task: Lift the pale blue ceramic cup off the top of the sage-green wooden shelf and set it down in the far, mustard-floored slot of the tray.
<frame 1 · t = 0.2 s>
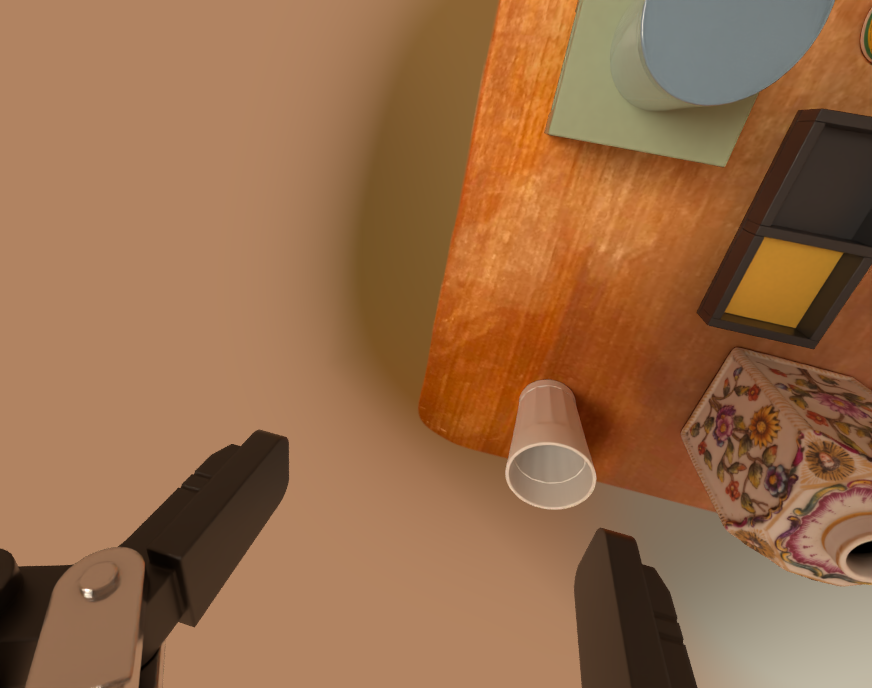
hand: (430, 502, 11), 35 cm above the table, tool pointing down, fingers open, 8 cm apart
cup: (546, 402, 49), on the table
shelf: (623, 76, 34), on the table
tray: (796, 233, 36), on the table
decorative jar: (758, 405, 44), on the table, touching beige rounded piece
blue cup: (671, 45, 22), point 14 cm above the table, touching shelf
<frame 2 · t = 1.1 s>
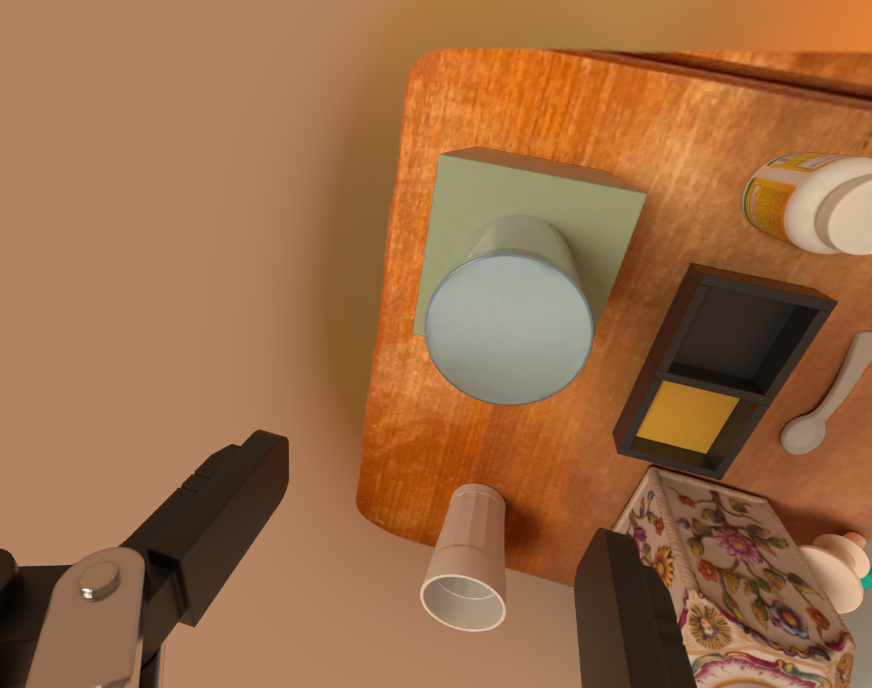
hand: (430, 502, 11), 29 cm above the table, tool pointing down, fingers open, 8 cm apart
supplement bottle: (780, 192, 30), on the table
cup: (478, 502, 50), on the table
shelf: (522, 223, 35), on the table
tray: (700, 369, 37), on the table
spoon: (821, 390, 36), on the table
beige rounded piece: (817, 580, 35), point 7 cm above the table, touching decorative jar
decorative jar: (680, 517, 44), on the table, touching beige rounded piece
blue cup: (514, 273, 22), point 14 cm above the table, touching shelf
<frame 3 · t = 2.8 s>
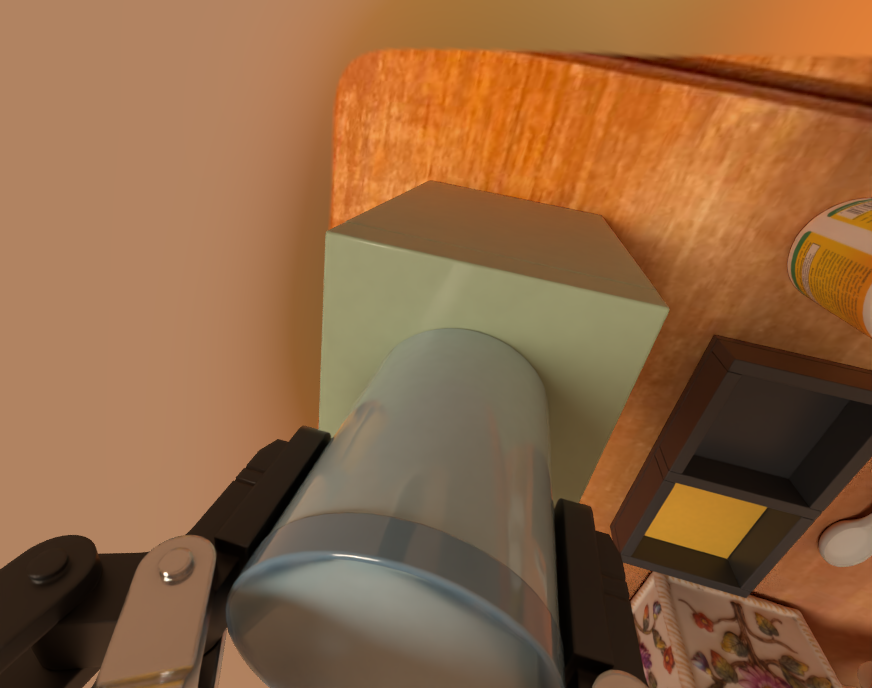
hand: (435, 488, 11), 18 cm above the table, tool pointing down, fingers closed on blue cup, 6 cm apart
supplement bottle: (841, 249, 22), on the table
shelf: (494, 279, 27), on the table
tray: (722, 461, 29), on the table
decorative jar: (691, 621, 36), on the table, touching beige rounded piece
blue cup: (457, 408, 14), point 14 cm above the table, touching gripper, shelf
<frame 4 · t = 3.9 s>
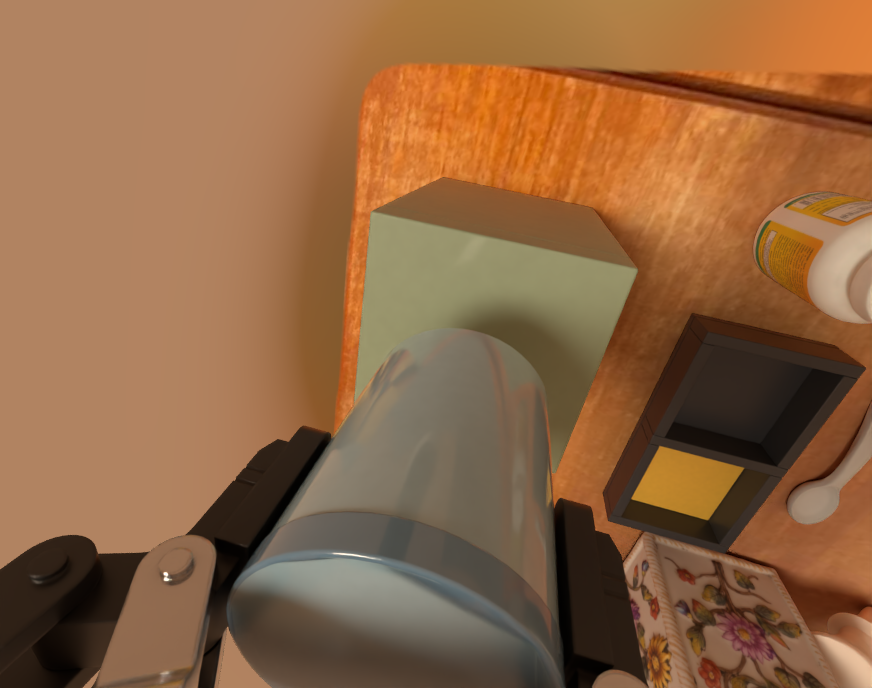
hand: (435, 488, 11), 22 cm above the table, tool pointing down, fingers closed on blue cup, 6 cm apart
supplement bottle: (798, 237, 26), on the table
shelf: (498, 265, 30), on the table
tray: (702, 429, 32), on the table
spoon: (835, 453, 32), on the table
beige rounded piece: (835, 675, 31), point 7 cm above the table, touching decorative jar
decorative jar: (678, 583, 40), on the table, touching beige rounded piece
blue cup: (457, 407, 14), point 18 cm above the table, touching gripper
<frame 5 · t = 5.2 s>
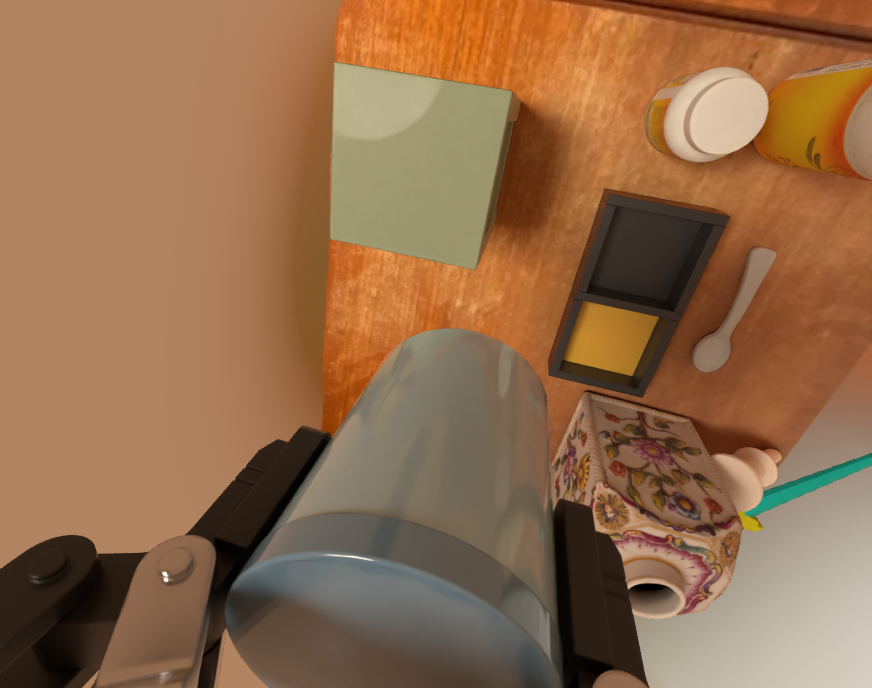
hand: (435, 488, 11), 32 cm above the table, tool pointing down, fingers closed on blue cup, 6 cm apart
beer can: (793, 118, 31), on the table
supplement bottle: (679, 116, 33), on the table
shelf: (451, 156, 37), on the table
tray: (621, 293, 40), on the table
spoon: (727, 309, 39), on the table
beige rounded piece: (726, 483, 38), point 7 cm above the table, touching decorative jar
decorative jar: (615, 442, 47), on the table, touching beige rounded piece
toy sword: (654, 544, 51), point 2 cm above the table
blue cup: (457, 408, 14), point 29 cm above the table, touching gripper
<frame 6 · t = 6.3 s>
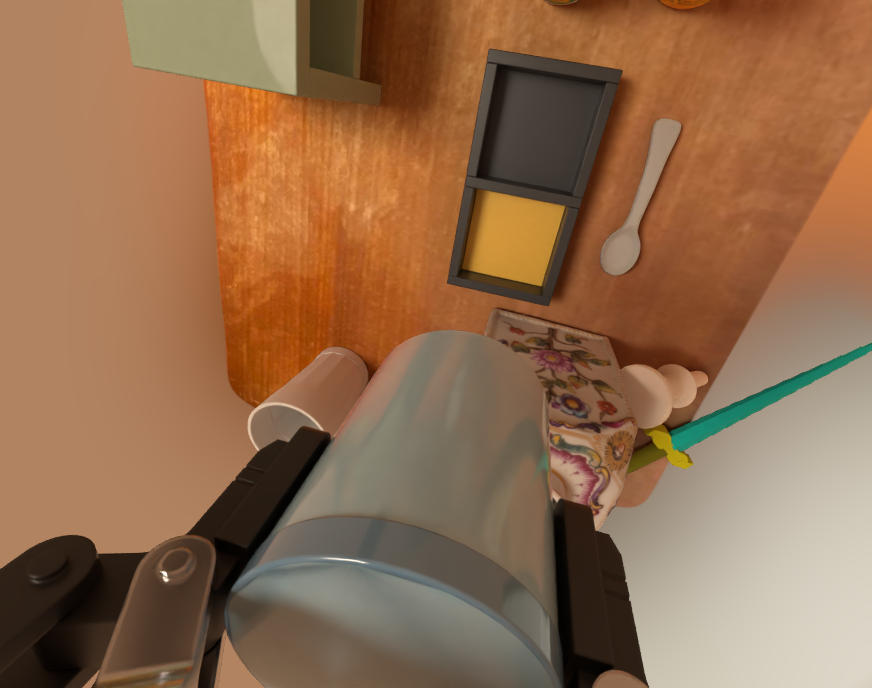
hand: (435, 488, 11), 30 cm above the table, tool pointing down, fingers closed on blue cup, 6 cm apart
cup: (342, 370, 48), on the table
shelf: (325, 22, 33), on the table
tray: (523, 186, 35), on the table
spoon: (635, 201, 34), on the table
beige rounded piece: (636, 397, 34), point 7 cm above the table, touching decorative jar
decorative jar: (532, 369, 43), on the table, touching beige rounded piece
toy sword: (580, 487, 46), point 2 cm above the table
blue cup: (457, 409, 14), point 27 cm above the table, touching gripper
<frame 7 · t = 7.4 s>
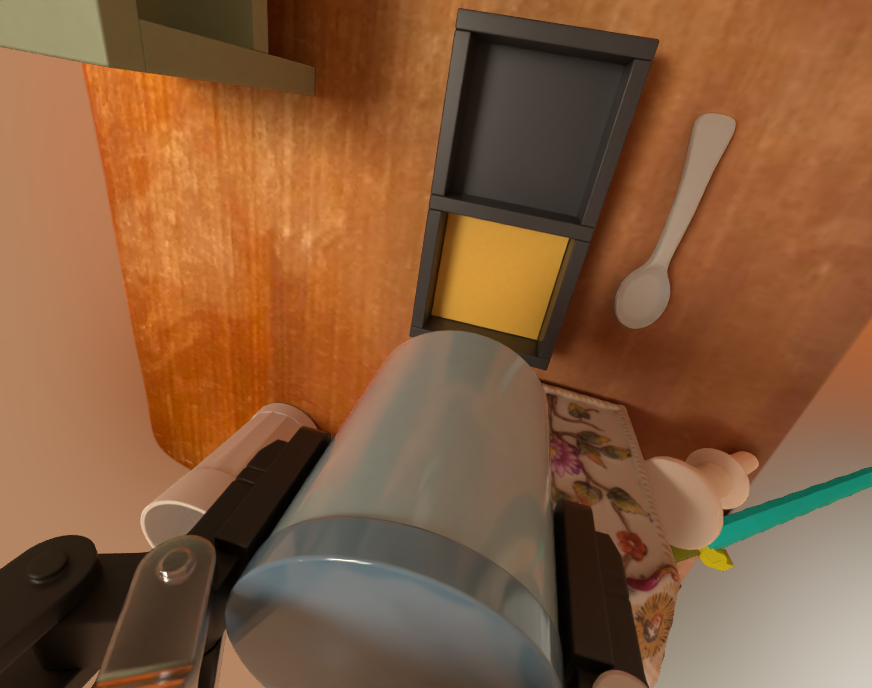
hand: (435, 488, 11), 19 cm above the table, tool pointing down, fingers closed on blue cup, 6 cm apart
cup: (288, 430, 39), on the table
tray: (512, 208, 26), on the table
spoon: (664, 228, 25), on the table
beige rounded piece: (667, 504, 24), point 7 cm above the table, touching decorative jar
decorative jar: (526, 440, 33), on the table, touching beige rounded piece
toy sword: (586, 583, 37), point 2 cm above the table
blue cup: (457, 410, 14), point 16 cm above the table, touching gripper
when the fingers open (4 cm above the table, at t = 10.7 s): blue cup stays where it is, resting on tray.
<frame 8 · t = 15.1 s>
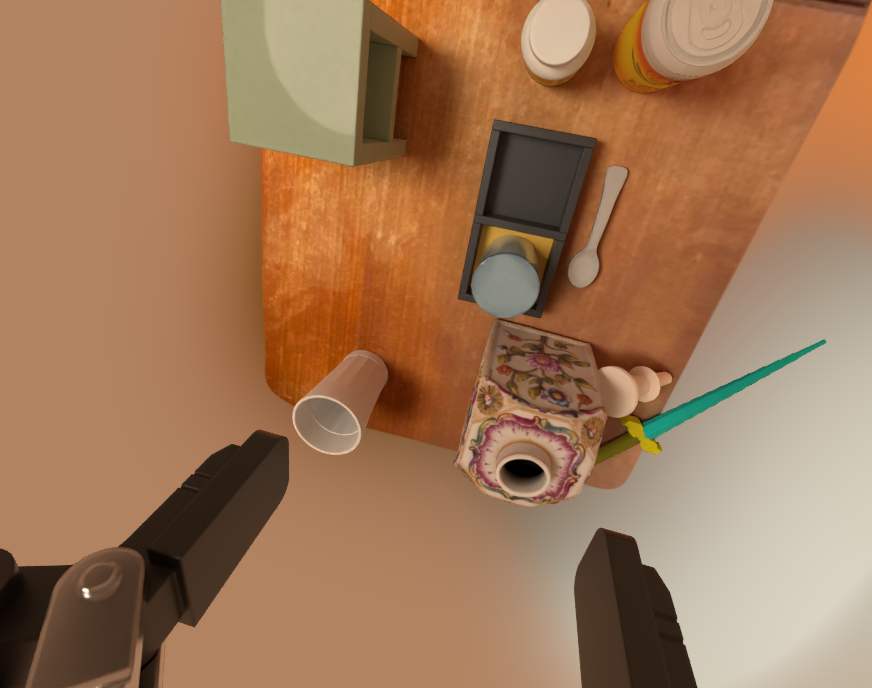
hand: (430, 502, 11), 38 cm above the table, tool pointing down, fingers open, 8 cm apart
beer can: (649, 51, 36), on the table
supplement bottle: (554, 51, 37), on the table
cup: (365, 370, 57), on the table
shelf: (362, 91, 41), on the table
tray: (520, 221, 44), on the table
spoon: (595, 228, 43), on the table
beige rounded piece: (610, 392, 42), point 7 cm above the table, touching decorative jar
decorative jar: (528, 370, 51), on the table, touching beige rounded piece
toy sword: (568, 470, 55), point 2 cm above the table
blue cup: (509, 262, 45), point 1 cm above the table, touching tray
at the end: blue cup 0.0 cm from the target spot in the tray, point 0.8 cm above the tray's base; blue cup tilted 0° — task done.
